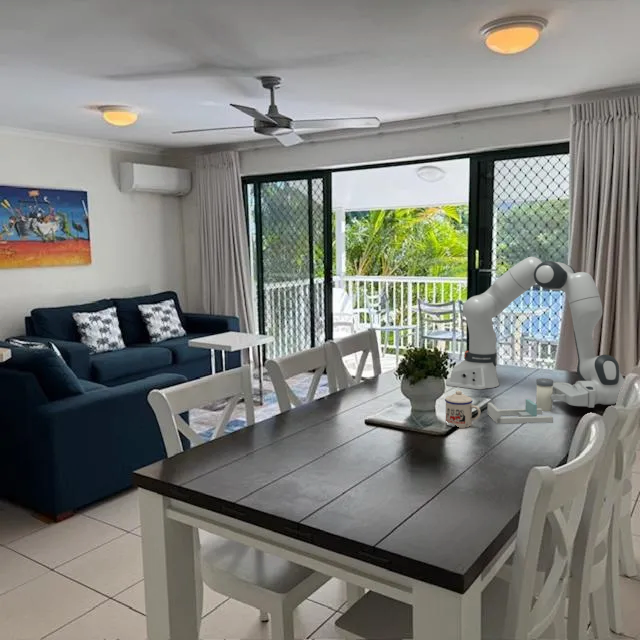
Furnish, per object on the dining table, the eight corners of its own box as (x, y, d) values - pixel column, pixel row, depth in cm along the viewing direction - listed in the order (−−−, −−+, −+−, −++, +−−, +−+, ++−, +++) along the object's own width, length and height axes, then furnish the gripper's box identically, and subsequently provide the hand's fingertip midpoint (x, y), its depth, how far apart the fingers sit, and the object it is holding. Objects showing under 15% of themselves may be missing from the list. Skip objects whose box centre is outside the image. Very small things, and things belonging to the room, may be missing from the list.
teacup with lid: (441, 426, 205) (441, 392, 203) (450, 419, 213) (450, 386, 211) (475, 431, 199) (476, 396, 197) (484, 424, 206) (484, 390, 205)
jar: (535, 411, 220) (536, 381, 219) (536, 406, 226) (536, 378, 224) (552, 412, 218) (553, 382, 217) (552, 408, 224) (553, 379, 222)
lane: (540, 413, 217) (541, 401, 217) (552, 422, 207) (553, 409, 206) (487, 414, 217) (487, 402, 217) (497, 423, 206) (497, 411, 206)
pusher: (528, 414, 216) (529, 399, 215) (536, 420, 208) (536, 404, 208) (516, 414, 215) (516, 399, 215) (523, 420, 208) (524, 405, 207)
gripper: (571, 377, 231) (535, 378, 231) (596, 391, 211) (557, 392, 211) (570, 394, 232) (534, 394, 232) (595, 408, 212) (556, 409, 212)
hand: (545, 393), depth 221 cm, fingers open, 8 cm apart
